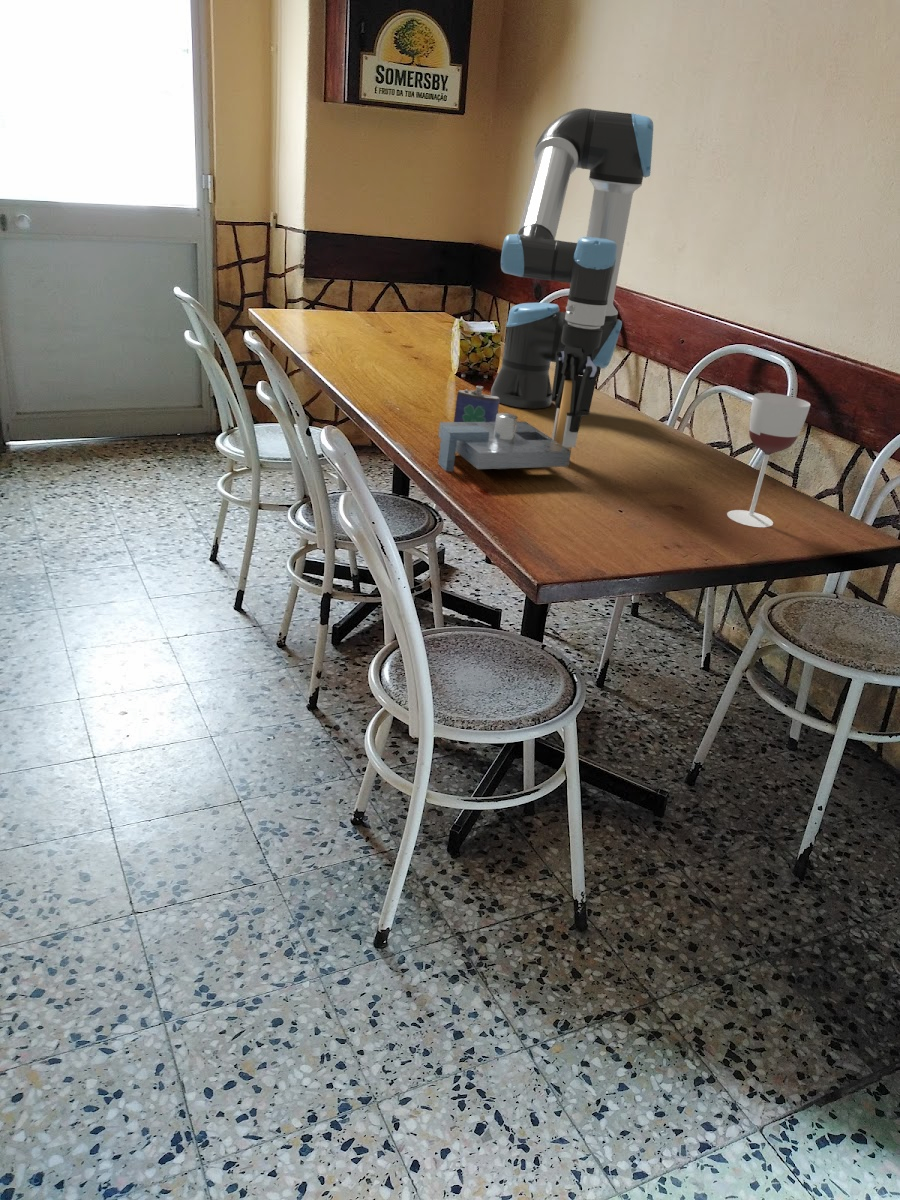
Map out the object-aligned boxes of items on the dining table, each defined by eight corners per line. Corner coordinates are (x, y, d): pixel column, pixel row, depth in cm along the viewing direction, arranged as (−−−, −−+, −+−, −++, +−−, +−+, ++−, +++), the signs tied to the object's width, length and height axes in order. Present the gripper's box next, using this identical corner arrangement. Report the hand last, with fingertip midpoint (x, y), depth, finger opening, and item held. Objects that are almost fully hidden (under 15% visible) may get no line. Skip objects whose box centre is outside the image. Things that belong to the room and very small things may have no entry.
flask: (495, 437, 198) (502, 388, 193) (492, 441, 195) (499, 391, 190) (454, 430, 199) (459, 380, 195) (450, 433, 197) (456, 383, 192)
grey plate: (521, 449, 192) (528, 402, 187) (565, 481, 176) (574, 430, 172) (423, 451, 183) (428, 402, 179) (461, 485, 168) (468, 431, 163)
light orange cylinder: (563, 457, 190) (577, 379, 183) (572, 462, 187) (586, 384, 180) (548, 457, 189) (561, 379, 182) (557, 463, 186) (570, 384, 179)
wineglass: (716, 507, 172) (746, 391, 163) (765, 511, 174) (797, 395, 164) (733, 525, 165) (765, 404, 155) (784, 529, 166) (819, 409, 156)
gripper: (545, 315, 181) (528, 431, 192) (588, 333, 168) (567, 457, 178) (578, 316, 184) (559, 430, 195) (623, 334, 171) (600, 456, 181)
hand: (563, 443), depth 187 cm, fingers closed on light orange cylinder, 3 cm apart
